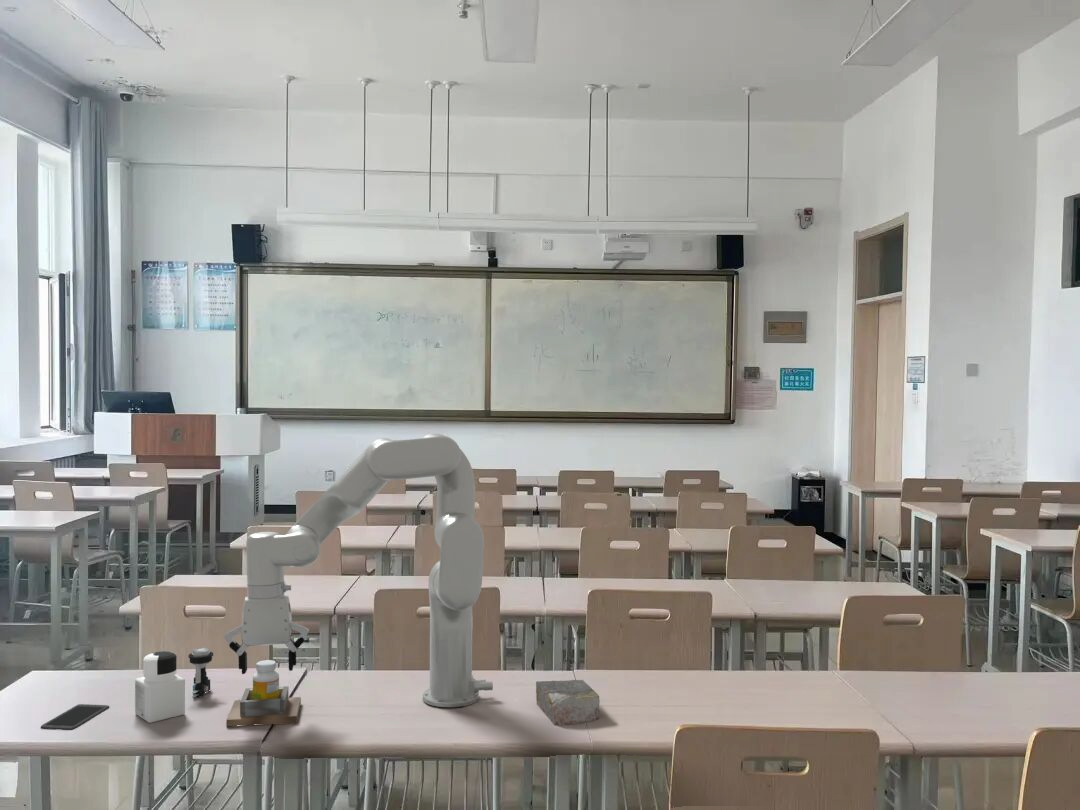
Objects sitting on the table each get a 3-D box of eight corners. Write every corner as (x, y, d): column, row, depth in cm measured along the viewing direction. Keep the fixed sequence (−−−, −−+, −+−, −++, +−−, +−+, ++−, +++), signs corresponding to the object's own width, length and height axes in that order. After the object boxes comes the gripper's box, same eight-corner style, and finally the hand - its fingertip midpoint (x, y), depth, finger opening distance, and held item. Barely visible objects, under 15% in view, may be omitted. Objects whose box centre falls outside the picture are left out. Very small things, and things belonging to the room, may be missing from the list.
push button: (204, 699, 208) (204, 655, 208) (181, 699, 208) (181, 654, 208) (217, 690, 214) (217, 647, 214) (194, 689, 215) (194, 646, 214)
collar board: (300, 703, 206) (300, 683, 205) (296, 723, 194) (296, 701, 194) (234, 707, 203) (234, 686, 203) (226, 727, 191) (226, 705, 191)
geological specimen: (580, 677, 211) (603, 695, 196) (580, 704, 211) (602, 724, 196) (535, 679, 208) (555, 697, 193) (534, 707, 208) (554, 727, 193)
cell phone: (110, 708, 203) (110, 705, 203) (72, 732, 189) (72, 728, 189) (78, 707, 204) (78, 703, 203) (38, 730, 190) (38, 726, 190)
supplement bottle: (247, 708, 198) (247, 662, 198) (270, 702, 202) (270, 657, 202) (260, 714, 195) (261, 668, 194) (283, 708, 198) (284, 662, 198)
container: (170, 705, 204) (170, 646, 204) (185, 714, 198) (185, 654, 198) (134, 714, 198) (134, 653, 198) (149, 723, 193) (149, 661, 193)
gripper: (308, 584, 203) (310, 662, 204) (226, 589, 200) (228, 668, 200) (306, 592, 196) (308, 673, 196) (220, 597, 193) (222, 679, 193)
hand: (267, 670), depth 198 cm, fingers open, 9 cm apart
